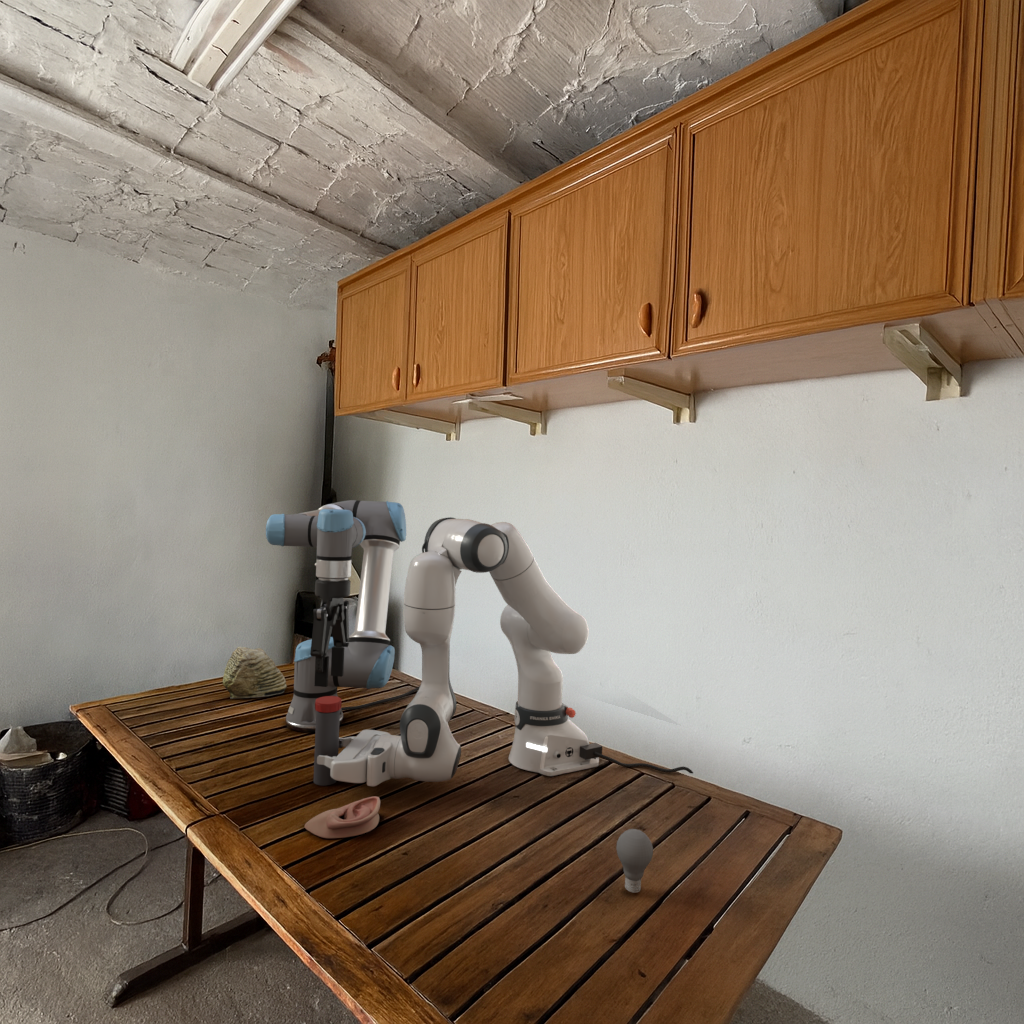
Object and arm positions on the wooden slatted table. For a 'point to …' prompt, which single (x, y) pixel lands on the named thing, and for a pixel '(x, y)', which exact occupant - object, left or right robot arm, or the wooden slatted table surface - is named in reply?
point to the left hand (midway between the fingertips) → (329, 680)
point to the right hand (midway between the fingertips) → (327, 750)
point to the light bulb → (634, 857)
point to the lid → (328, 704)
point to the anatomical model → (346, 819)
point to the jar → (326, 744)
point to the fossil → (252, 674)
